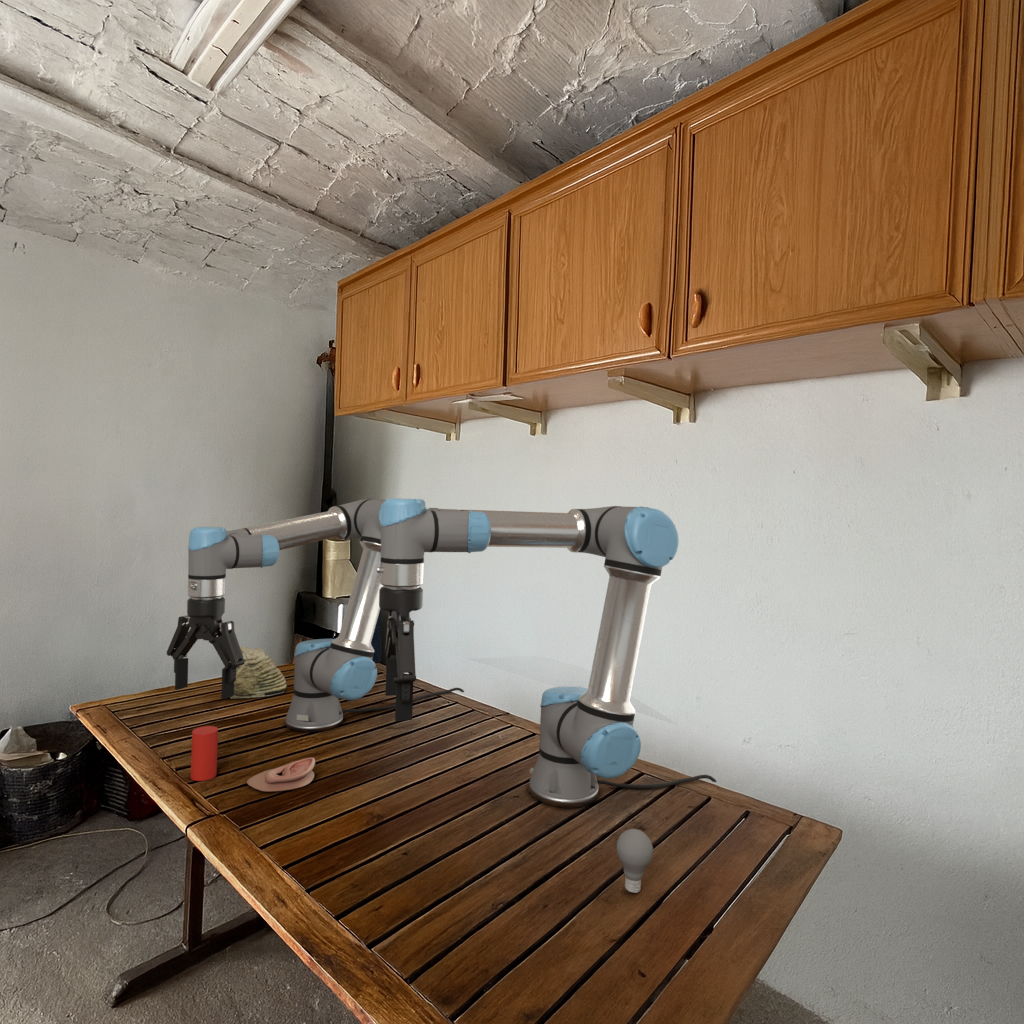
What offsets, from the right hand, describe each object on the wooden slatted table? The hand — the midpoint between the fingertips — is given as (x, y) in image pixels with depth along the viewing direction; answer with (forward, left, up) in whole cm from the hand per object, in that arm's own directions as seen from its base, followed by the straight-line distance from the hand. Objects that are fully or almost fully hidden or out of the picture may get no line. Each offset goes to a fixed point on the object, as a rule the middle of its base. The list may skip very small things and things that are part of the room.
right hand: (397, 706), depth 111 cm
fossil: (+28, -101, -27) cm, 108 cm away
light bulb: (-37, +19, -27) cm, 50 cm away
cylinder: (+36, -43, -27) cm, 62 cm away
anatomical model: (+19, -36, -27) cm, 49 cm away
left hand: (+36, -43, -8) cm, 56 cm away
